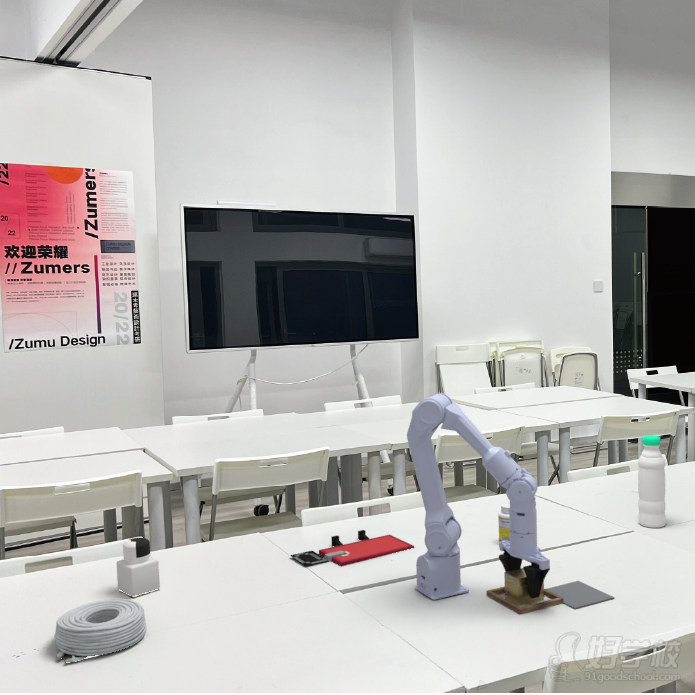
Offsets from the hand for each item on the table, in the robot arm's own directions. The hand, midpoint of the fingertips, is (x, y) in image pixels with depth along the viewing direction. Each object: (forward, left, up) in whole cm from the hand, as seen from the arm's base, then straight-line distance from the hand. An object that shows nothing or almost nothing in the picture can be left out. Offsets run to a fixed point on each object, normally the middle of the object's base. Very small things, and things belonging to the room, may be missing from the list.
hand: (524, 591), depth 165 cm
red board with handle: (-19, +47, -2) cm, 51 cm away
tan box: (0, 0, -2) cm, 2 cm away
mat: (+11, -4, -2) cm, 12 cm away
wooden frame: (0, 0, -2) cm, 2 cm away
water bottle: (+63, +23, -2) cm, 67 cm away
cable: (-85, +27, -2) cm, 89 cm away
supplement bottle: (+20, +31, -2) cm, 37 cm away
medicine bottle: (-73, +49, -2) cm, 88 cm away
